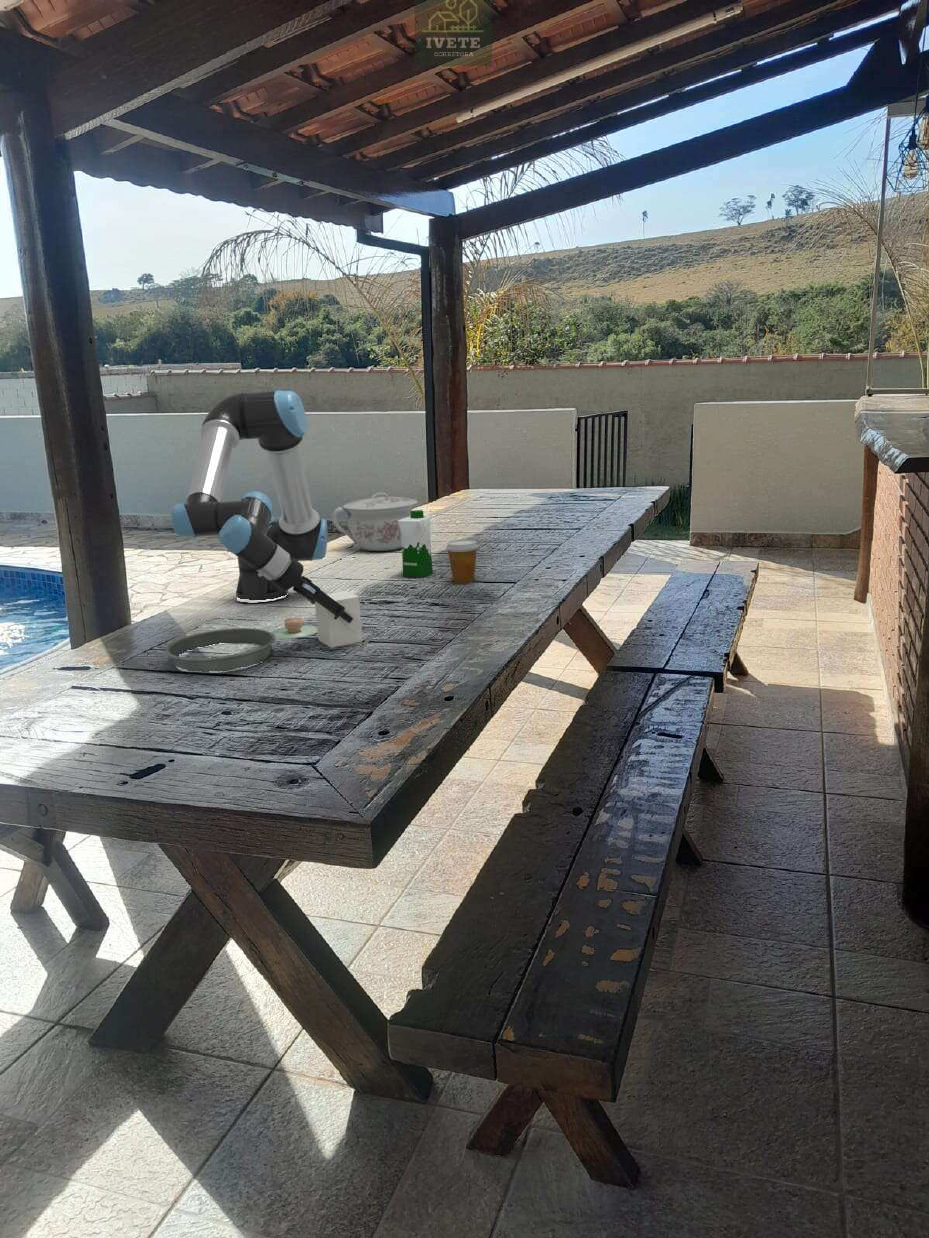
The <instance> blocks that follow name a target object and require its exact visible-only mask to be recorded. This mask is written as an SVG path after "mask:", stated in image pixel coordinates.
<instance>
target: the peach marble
mask: <svg viewBox="0 0 929 1238" xmlns="http://www.w3.org/2000/svg"><path fill="white" fill-rule="evenodd" d="M283 623H284V627H285V629H288V633H298V632H301V627H303V625H304V624H303V618H302V617H290V618H286V619H284V620H283Z"/></svg>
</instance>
